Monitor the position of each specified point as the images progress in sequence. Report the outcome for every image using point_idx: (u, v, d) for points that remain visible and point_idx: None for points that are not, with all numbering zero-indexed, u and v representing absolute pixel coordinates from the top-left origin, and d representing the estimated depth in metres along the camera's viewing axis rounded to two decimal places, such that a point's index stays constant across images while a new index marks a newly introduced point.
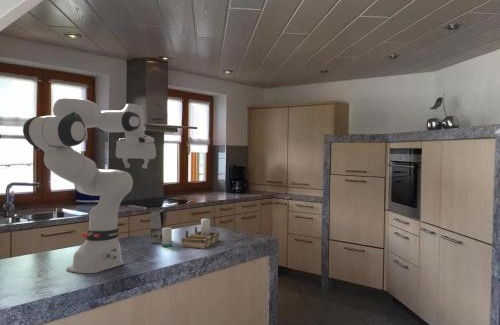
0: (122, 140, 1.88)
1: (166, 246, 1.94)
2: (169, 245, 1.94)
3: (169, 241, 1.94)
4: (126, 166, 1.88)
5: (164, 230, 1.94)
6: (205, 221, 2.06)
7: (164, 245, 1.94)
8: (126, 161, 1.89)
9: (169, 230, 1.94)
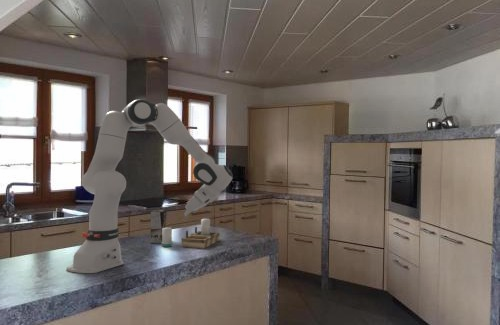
0: None
1: (166, 246, 1.94)
2: (169, 245, 1.94)
3: (169, 241, 1.94)
4: None
5: (164, 230, 1.94)
6: (205, 221, 2.06)
7: (164, 245, 1.94)
8: (197, 208, 1.98)
9: (169, 230, 1.94)
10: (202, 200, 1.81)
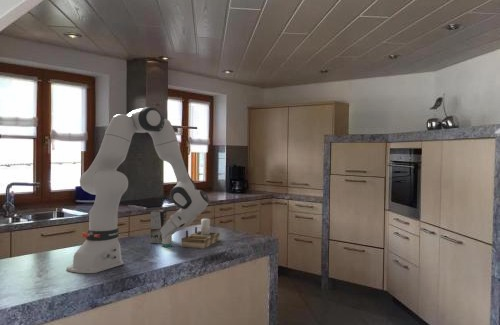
0: None
1: (166, 246, 1.94)
2: (169, 245, 1.94)
3: (169, 241, 1.94)
4: None
5: None
6: (205, 221, 2.06)
7: (164, 245, 1.94)
8: (173, 231, 1.99)
9: None
10: (177, 224, 1.85)
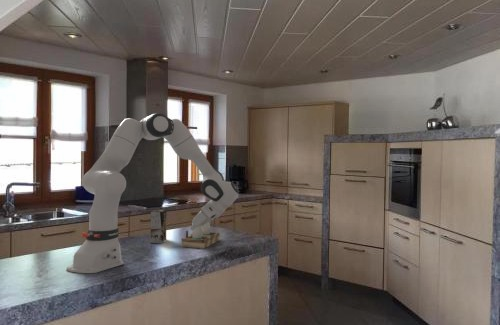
0: None
1: None
2: None
3: (199, 235, 1.97)
4: None
5: None
6: None
7: None
8: (204, 222, 2.03)
9: None
10: (208, 215, 1.87)
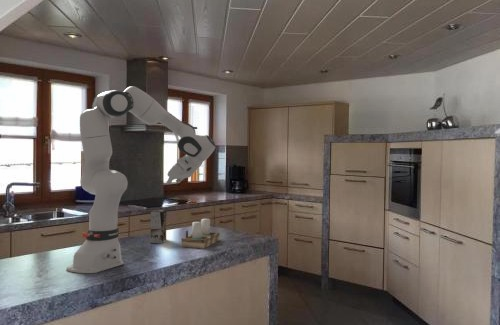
0: None
1: None
2: None
3: (199, 235, 1.97)
4: None
5: (194, 224, 1.96)
6: (205, 221, 2.06)
7: None
8: (181, 178, 2.02)
9: (199, 224, 1.97)
10: (184, 167, 1.86)
